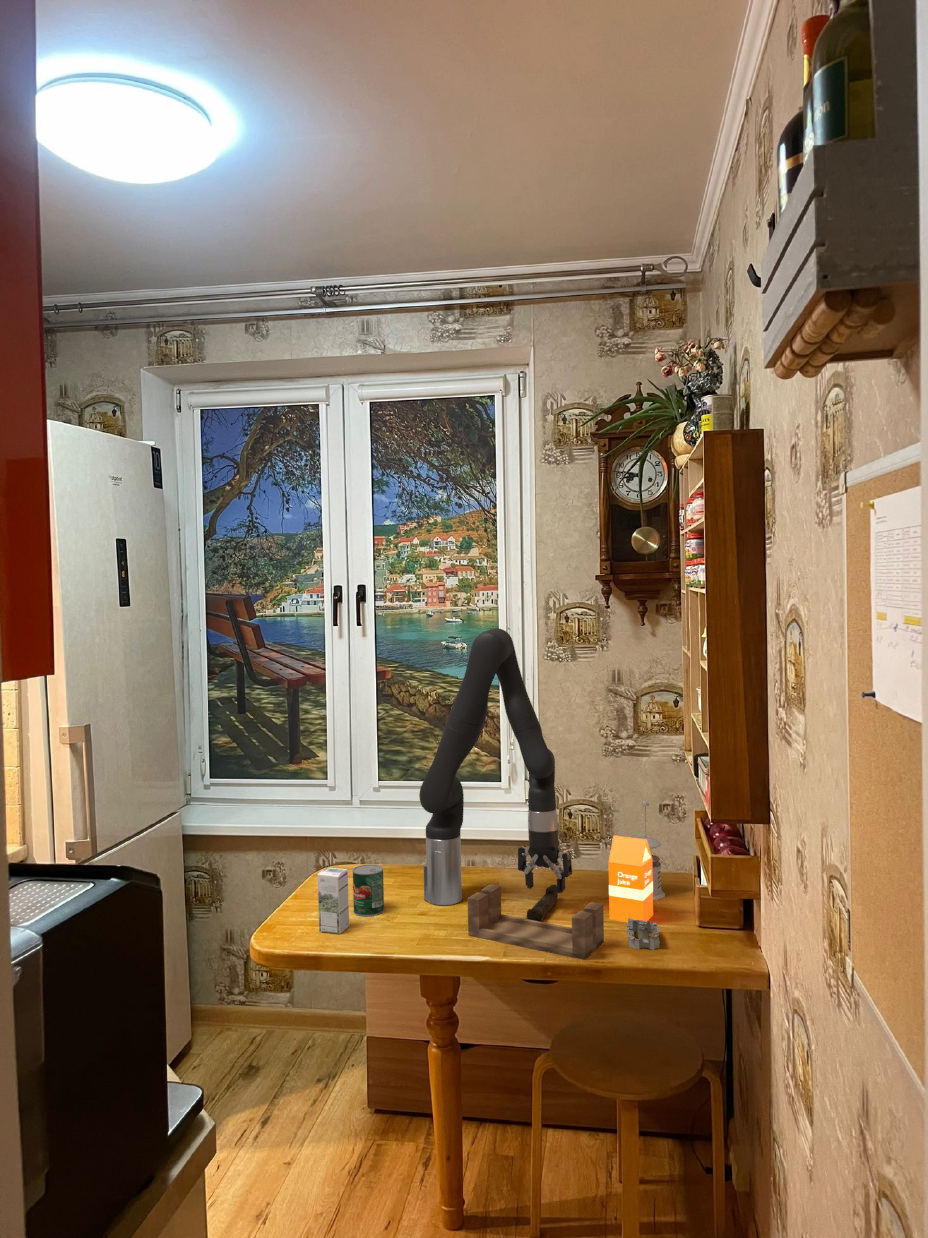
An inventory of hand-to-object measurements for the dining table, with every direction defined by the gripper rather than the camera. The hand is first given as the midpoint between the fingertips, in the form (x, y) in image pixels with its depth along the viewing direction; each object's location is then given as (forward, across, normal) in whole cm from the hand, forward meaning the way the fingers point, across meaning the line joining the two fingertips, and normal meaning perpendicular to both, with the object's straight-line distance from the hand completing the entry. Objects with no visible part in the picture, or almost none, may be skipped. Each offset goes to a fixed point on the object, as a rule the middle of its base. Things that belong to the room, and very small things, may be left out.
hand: (545, 890), depth 228 cm
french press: (+6, +18, +24) cm, 30 cm away
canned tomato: (+5, -40, -21) cm, 46 cm away
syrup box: (+5, -40, -35) cm, 54 cm away
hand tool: (+6, -1, 0) cm, 6 cm away
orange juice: (+6, +20, +7) cm, 22 cm away
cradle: (+6, +6, -17) cm, 19 cm away
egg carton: (+7, +28, -6) cm, 29 cm away
